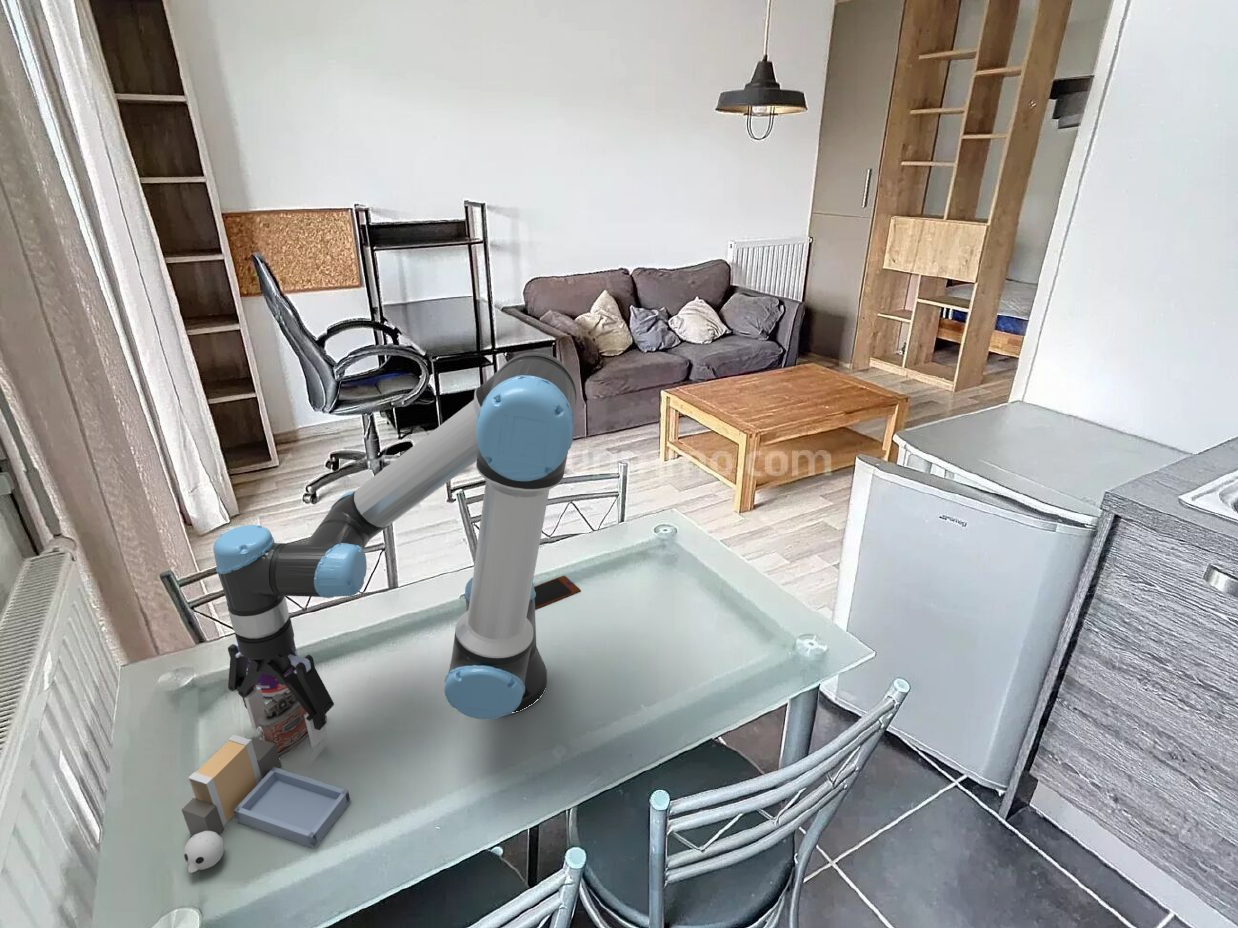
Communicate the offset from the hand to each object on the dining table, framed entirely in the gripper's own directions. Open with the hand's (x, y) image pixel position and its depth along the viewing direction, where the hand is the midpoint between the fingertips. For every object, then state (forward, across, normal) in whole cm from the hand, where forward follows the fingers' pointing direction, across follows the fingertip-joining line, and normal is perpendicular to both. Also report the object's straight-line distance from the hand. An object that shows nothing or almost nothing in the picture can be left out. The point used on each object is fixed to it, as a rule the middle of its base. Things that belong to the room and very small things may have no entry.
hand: (289, 731), depth 111 cm
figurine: (+2, -4, +21) cm, 21 cm away
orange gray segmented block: (+2, 0, +6) cm, 6 cm away
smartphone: (+3, -24, -50) cm, 56 cm away
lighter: (+2, 0, 0) cm, 2 cm away
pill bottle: (+2, +12, -10) cm, 15 cm away
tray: (+2, -10, +10) cm, 14 cm away
